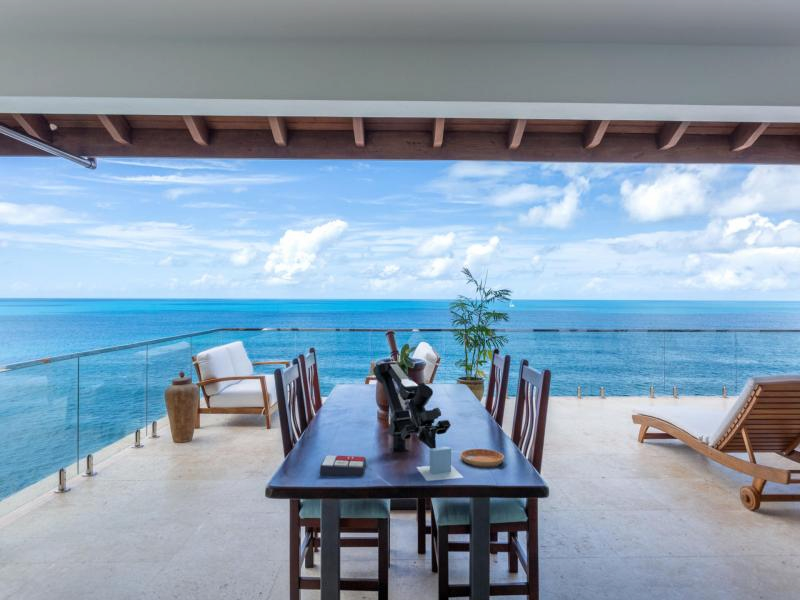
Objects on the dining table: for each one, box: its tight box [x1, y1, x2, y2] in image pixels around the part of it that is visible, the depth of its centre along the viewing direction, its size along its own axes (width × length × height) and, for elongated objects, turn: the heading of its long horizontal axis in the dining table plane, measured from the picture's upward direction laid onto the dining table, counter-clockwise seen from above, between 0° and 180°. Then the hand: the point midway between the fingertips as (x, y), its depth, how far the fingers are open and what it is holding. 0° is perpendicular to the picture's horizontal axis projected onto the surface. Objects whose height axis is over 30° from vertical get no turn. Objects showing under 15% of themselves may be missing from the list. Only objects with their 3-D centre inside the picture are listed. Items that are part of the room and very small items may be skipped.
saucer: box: [460, 448, 505, 468], centre depth 171 cm, size 16×16×3 cm
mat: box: [416, 464, 464, 482], centre depth 158 cm, size 14×13×1 cm
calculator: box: [319, 455, 367, 477], centre depth 162 cm, size 11×4×15 cm
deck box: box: [429, 446, 452, 475], centre depth 159 cm, size 3×7×8 cm, turn 118°
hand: (434, 450), depth 162 cm, fingers closed
